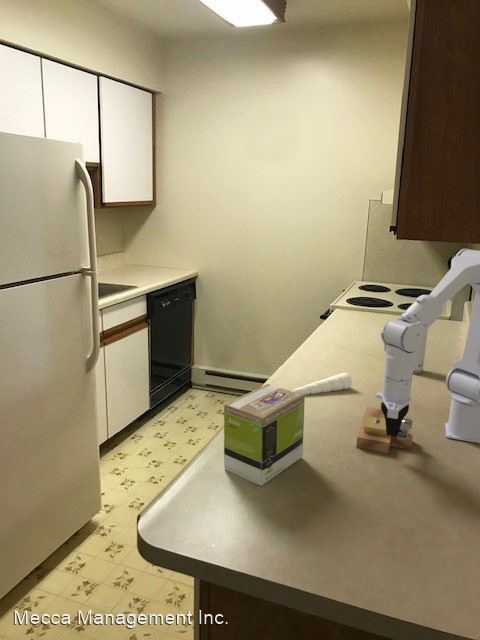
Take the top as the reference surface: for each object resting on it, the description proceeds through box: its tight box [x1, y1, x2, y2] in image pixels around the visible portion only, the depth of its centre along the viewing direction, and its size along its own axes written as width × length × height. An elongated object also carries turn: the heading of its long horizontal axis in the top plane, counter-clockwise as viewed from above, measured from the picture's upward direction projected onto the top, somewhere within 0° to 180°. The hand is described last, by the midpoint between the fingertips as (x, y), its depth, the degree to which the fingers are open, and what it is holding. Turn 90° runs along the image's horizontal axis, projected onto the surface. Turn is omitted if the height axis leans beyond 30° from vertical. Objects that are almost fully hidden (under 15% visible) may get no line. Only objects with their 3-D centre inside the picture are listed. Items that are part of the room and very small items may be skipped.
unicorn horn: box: [291, 372, 353, 396], centre depth 143 cm, size 5×24×5 cm, turn 110°
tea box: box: [223, 383, 306, 487], centre depth 103 cm, size 15×10×15 cm, turn 141°
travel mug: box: [413, 328, 429, 375], centre depth 161 cm, size 6×7×20 cm
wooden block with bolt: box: [364, 416, 387, 436], centre depth 116 cm, size 5×6×2 cm
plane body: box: [355, 406, 414, 454], centre depth 118 cm, size 12×18×4 cm, turn 159°
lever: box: [397, 417, 413, 441], centre depth 110 cm, size 10×2×2 cm, turn 155°
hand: (392, 435), depth 108 cm, fingers closed, pressing on lever
